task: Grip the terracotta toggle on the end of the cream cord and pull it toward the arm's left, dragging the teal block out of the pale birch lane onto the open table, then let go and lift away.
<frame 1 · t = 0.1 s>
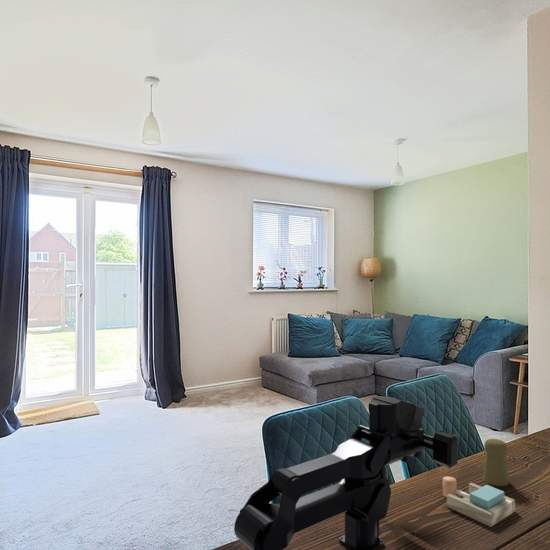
hand: (438, 431, 103), 17 cm above the table, tool horizontal, fingers open, 9 cm apart
lane: (480, 513, 99), on the table
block: (468, 495, 101), point 3 cm above the table, slide at 0.0 cm
cork: (495, 485, 113), on the table
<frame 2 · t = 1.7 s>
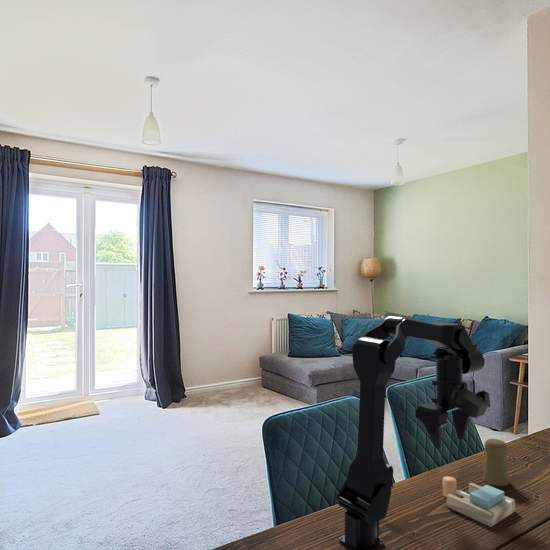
hand: (449, 443, 105), 13 cm above the table, tool pointing down, fingers open, 9 cm apart
nothing on the table moved.
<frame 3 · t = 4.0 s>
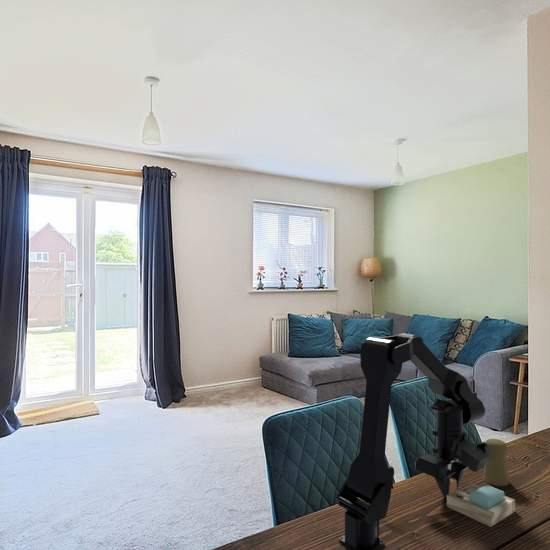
hand: (449, 494, 105), 1 cm above the table, tool pointing down, fingers closed on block, 3 cm apart
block: (468, 495, 101), point 3 cm above the table, slide at 0.0 cm, touching gripper
everything else where it was.
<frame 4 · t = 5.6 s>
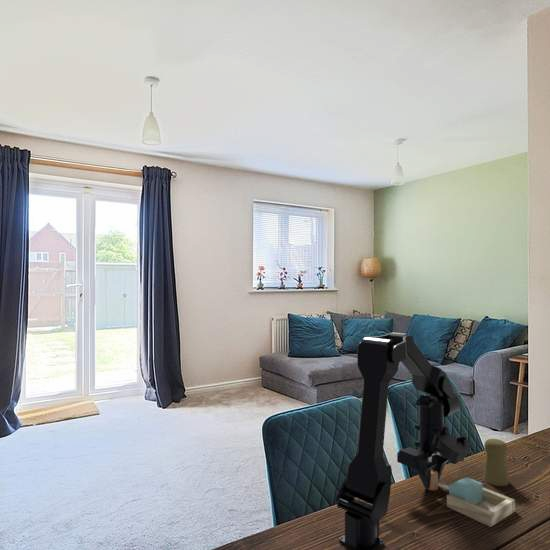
hand: (431, 486, 109), 1 cm above the table, tool pointing down, fingers closed on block, 3 cm apart
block: (449, 487, 105), point 3 cm above the table, slide at 4.9 cm, touching gripper
everything else where it was.
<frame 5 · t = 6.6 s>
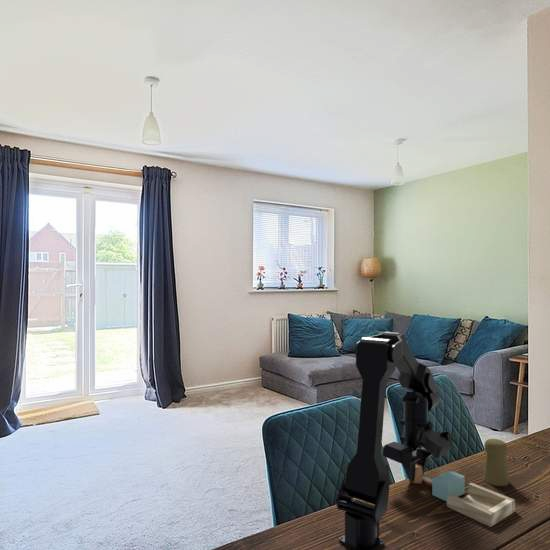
hand: (415, 479, 113), 1 cm above the table, tool pointing down, fingers closed on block, 3 cm apart
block: (432, 480, 109), point 3 cm above the table, slide at 9.3 cm, touching gripper
everything else where it was.
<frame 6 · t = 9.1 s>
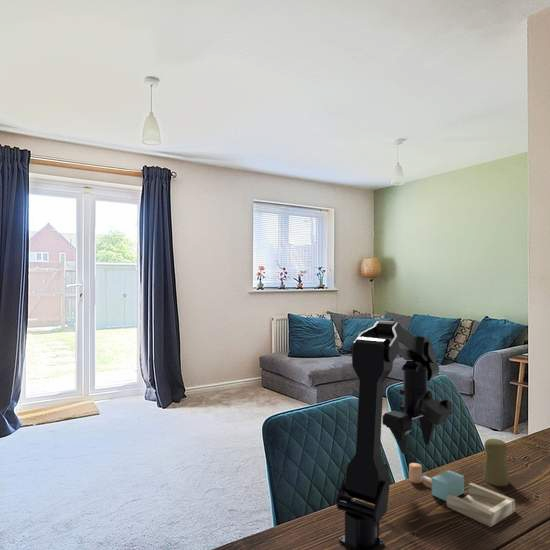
hand: (415, 448, 113), 9 cm above the table, tool pointing down, fingers open, 9 cm apart
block: (432, 480, 109), point 3 cm above the table, slide at 9.5 cm
everything else where it was.
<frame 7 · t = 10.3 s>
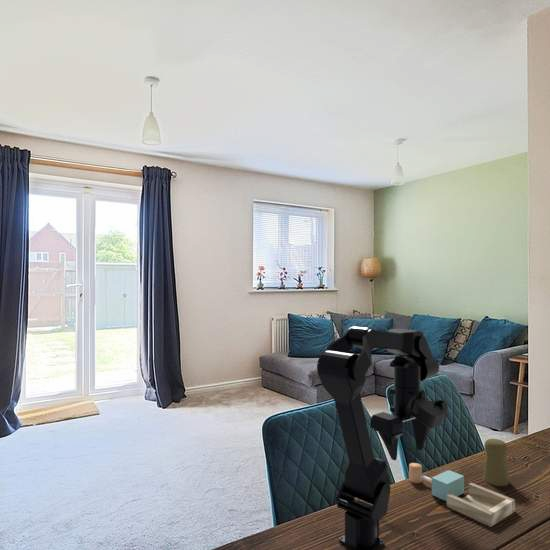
hand: (407, 454, 101), 12 cm above the table, tool pointing down, fingers open, 9 cm apart
nothing on the table moved.
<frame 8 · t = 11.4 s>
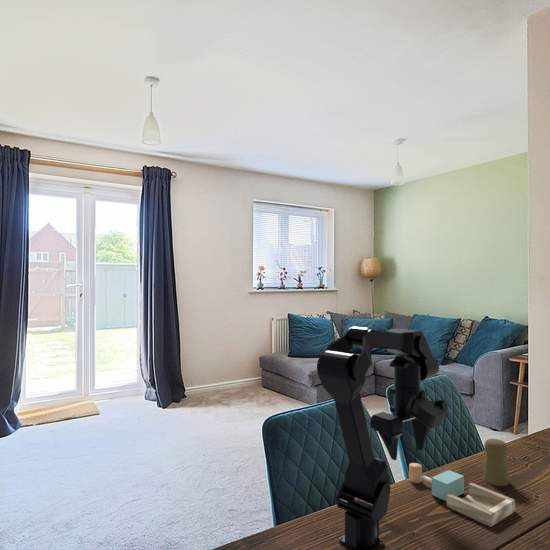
hand: (407, 454, 101), 12 cm above the table, tool pointing down, fingers open, 9 cm apart
nothing on the table moved.
at the end: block slide at 9.5 cm; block inside the target area (1.5 cm from its centre), point 2.7 cm above the table; the gripper is holding nothing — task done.
